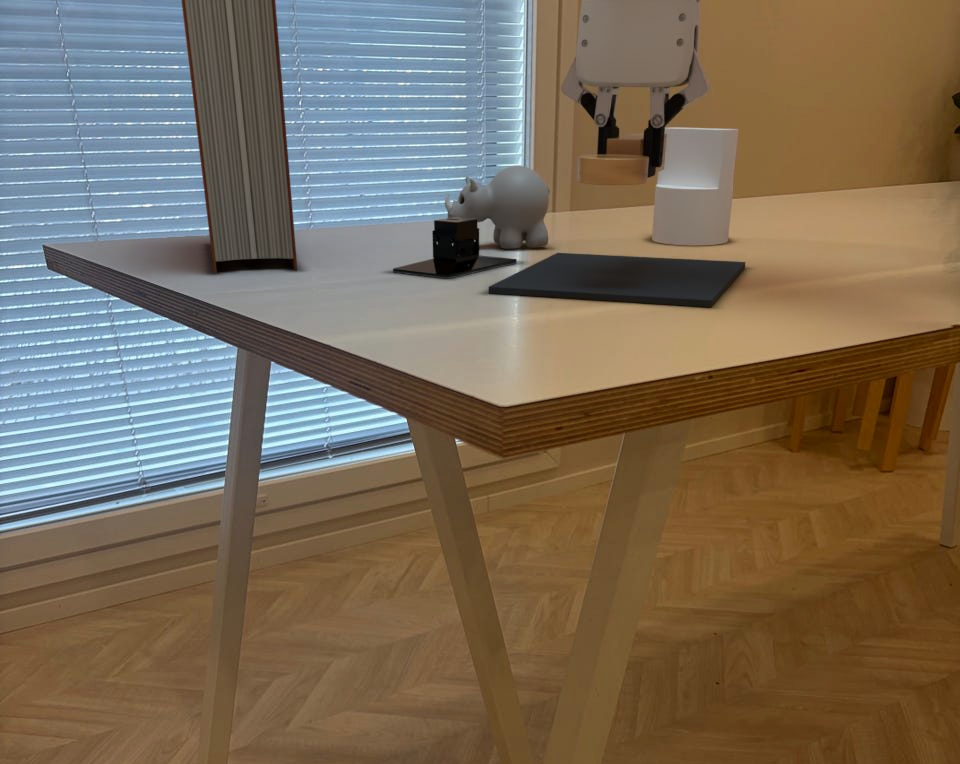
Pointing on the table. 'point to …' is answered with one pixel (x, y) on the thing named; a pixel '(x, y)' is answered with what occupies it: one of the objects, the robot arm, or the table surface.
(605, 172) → the wooden disc with bar
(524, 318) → the table surface
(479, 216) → the round bodied animal figurine
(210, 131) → the book
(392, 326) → the table surface
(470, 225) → the black block on plate
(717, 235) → the cylinder with rectangular tab
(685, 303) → the mat
